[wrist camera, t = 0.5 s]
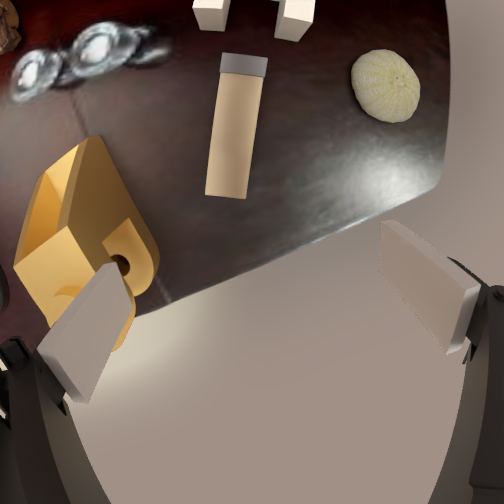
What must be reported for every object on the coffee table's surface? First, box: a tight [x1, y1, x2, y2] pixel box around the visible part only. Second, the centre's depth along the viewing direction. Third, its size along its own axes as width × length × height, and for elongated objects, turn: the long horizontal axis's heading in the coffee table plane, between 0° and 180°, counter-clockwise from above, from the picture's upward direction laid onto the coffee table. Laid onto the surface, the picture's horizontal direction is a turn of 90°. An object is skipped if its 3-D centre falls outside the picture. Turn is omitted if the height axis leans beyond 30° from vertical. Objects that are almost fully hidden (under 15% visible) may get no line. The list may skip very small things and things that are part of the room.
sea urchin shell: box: [351, 50, 420, 123], centre depth 27 cm, size 9×8×8 cm
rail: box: [205, 53, 268, 199], centre depth 28 cm, size 4×14×6 cm, turn 172°
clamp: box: [13, 136, 160, 352], centre depth 27 cm, size 20×9×16 cm, turn 24°
